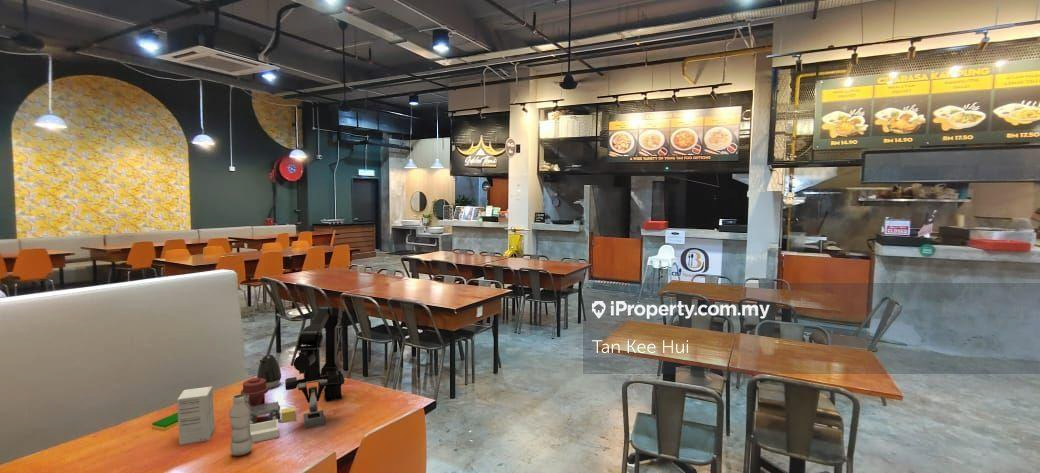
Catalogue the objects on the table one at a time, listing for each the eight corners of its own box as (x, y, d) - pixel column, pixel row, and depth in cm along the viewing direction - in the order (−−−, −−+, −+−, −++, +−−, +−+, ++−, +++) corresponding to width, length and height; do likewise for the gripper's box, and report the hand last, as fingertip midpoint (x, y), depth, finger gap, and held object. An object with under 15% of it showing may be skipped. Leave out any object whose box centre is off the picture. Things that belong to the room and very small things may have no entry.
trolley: (280, 411, 192) (279, 388, 191) (280, 422, 183) (279, 397, 182) (246, 418, 186) (245, 393, 186) (244, 429, 177) (243, 403, 176)
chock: (295, 416, 188) (295, 406, 188) (295, 420, 184) (295, 410, 184) (281, 419, 186) (281, 409, 185) (281, 423, 182) (281, 413, 182)
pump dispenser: (251, 390, 215) (250, 357, 214) (267, 381, 225) (266, 350, 224) (271, 391, 213) (270, 358, 212) (286, 383, 223) (285, 351, 222)
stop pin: (317, 408, 183) (316, 385, 183) (318, 411, 181) (317, 388, 180) (309, 410, 182) (308, 387, 181) (309, 413, 179) (308, 390, 179)
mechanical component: (252, 402, 201) (274, 403, 200) (235, 413, 191) (258, 413, 190) (251, 374, 200) (273, 375, 199) (234, 383, 190) (257, 384, 189)
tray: (278, 426, 179) (278, 419, 179) (278, 437, 171) (278, 429, 170) (243, 433, 174) (243, 425, 173) (242, 445, 165) (241, 436, 165)
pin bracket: (322, 417, 186) (322, 410, 186) (324, 424, 180) (324, 417, 180) (303, 421, 183) (303, 414, 183) (304, 428, 177) (304, 421, 177)
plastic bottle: (236, 448, 163) (233, 392, 161) (256, 447, 163) (254, 391, 162) (226, 458, 156) (223, 400, 155) (247, 457, 157) (245, 399, 156)
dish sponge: (151, 429, 178) (151, 423, 178) (187, 413, 192) (187, 408, 191) (165, 432, 176) (164, 425, 176) (200, 416, 189) (200, 410, 189)
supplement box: (185, 433, 174) (183, 389, 173) (215, 428, 177) (212, 385, 176) (178, 445, 165) (176, 399, 164) (209, 440, 169) (207, 394, 168)
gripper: (335, 352, 192) (336, 390, 193) (284, 359, 183) (285, 398, 184) (338, 360, 182) (339, 399, 183) (284, 368, 173) (286, 409, 174)
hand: (313, 401), depth 181 cm, fingers closed on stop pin, 3 cm apart
